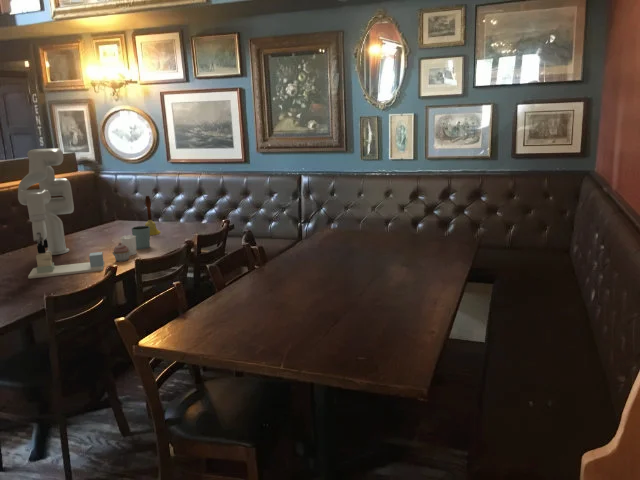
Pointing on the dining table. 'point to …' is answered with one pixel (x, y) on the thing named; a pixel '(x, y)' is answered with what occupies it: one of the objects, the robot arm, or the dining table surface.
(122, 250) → the cupcake
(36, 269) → the build board
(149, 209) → the handbell
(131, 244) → the white cup
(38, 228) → the robot arm
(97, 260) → the blue block
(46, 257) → the beech block
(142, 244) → the teal plant pot
